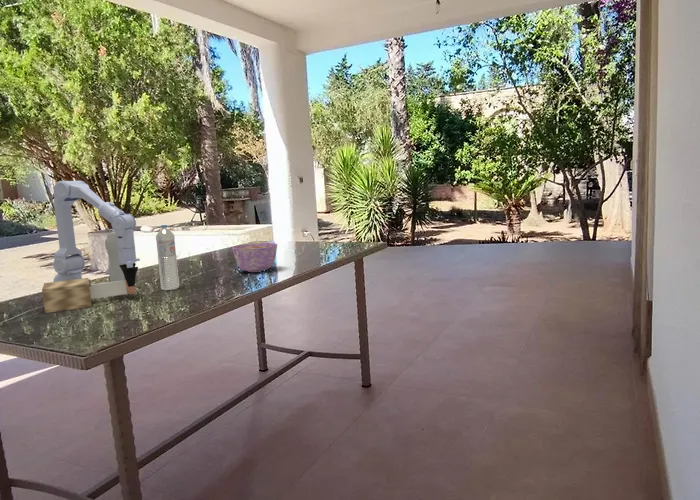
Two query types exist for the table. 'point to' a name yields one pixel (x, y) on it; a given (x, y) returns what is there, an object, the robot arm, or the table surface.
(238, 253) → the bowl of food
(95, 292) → the ticket
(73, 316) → the table surface
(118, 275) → the tall pale column
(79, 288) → the ticket box
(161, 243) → the water bottle
